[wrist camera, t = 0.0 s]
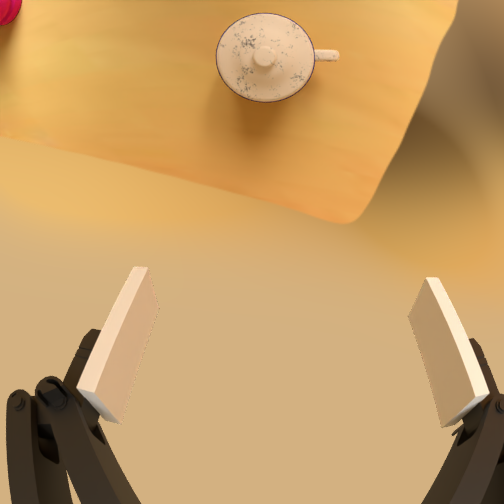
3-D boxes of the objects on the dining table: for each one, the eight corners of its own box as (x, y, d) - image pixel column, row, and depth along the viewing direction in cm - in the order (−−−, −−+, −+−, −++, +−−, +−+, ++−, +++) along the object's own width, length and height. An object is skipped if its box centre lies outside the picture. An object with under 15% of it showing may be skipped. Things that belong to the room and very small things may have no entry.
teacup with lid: (232, 96, 34) (216, 112, 24) (224, 27, 29) (203, 15, 19) (331, 91, 33) (355, 105, 23) (326, 21, 27) (350, 7, 18)
